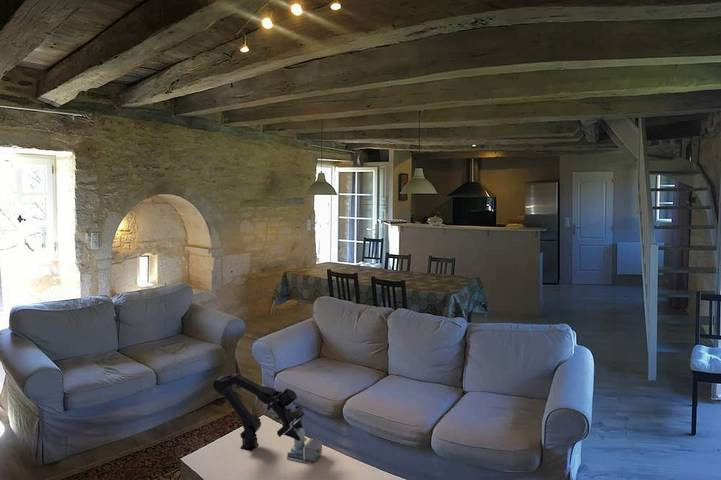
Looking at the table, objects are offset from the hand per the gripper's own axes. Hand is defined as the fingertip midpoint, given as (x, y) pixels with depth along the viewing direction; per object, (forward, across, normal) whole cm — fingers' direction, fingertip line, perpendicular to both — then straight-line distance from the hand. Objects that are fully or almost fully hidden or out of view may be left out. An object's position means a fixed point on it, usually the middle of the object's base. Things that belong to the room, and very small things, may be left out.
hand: (302, 437), depth 233 cm
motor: (+8, 0, +5) cm, 9 cm away
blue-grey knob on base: (+4, 0, +6) cm, 7 cm away
